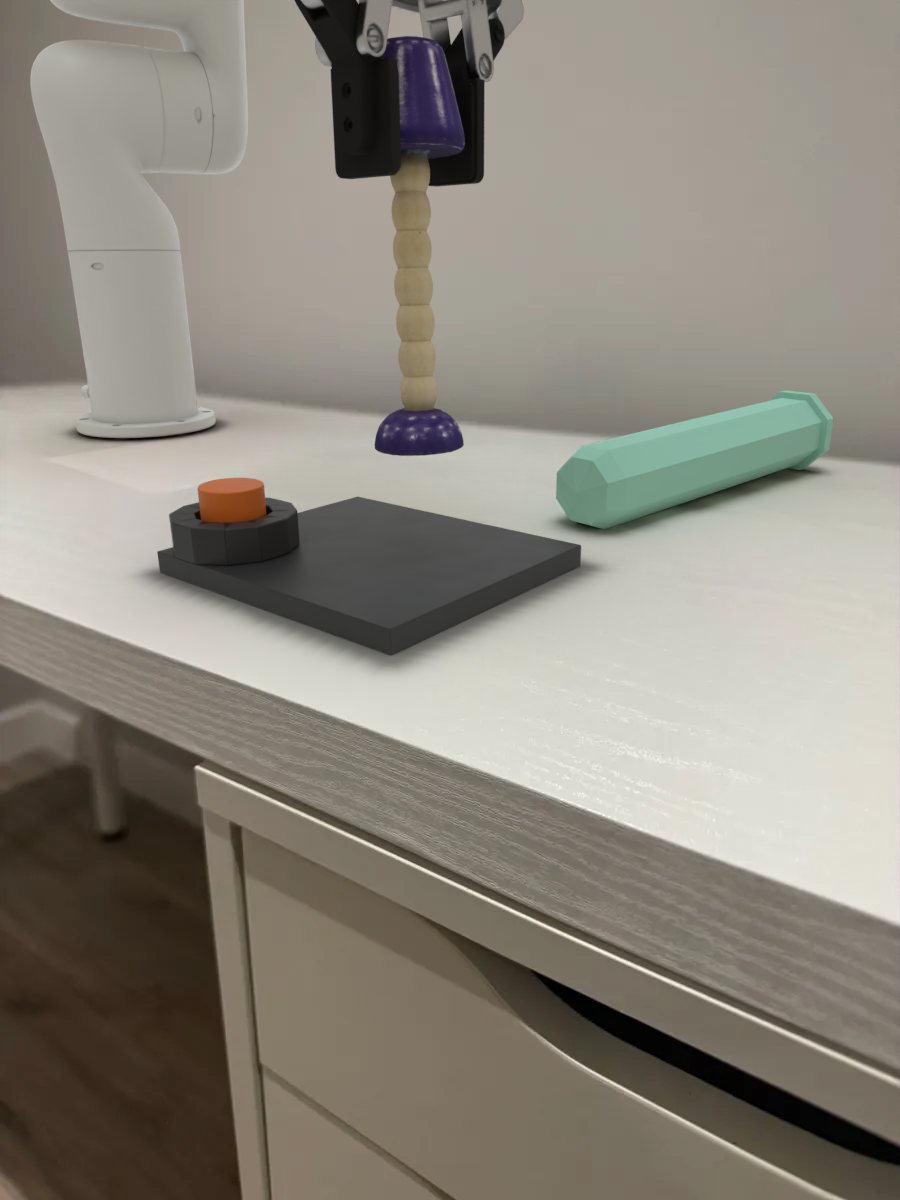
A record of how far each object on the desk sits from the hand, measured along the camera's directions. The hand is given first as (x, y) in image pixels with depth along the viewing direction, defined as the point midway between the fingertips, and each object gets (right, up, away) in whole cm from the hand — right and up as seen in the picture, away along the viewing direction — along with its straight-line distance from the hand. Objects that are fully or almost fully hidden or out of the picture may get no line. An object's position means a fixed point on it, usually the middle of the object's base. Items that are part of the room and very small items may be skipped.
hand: (412, 175), depth 38 cm
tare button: (-9, -14, +6) cm, 18 cm away
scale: (-2, -17, +7) cm, 18 cm away
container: (+18, -11, +21) cm, 30 cm away
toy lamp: (0, -11, +4) cm, 12 cm away
